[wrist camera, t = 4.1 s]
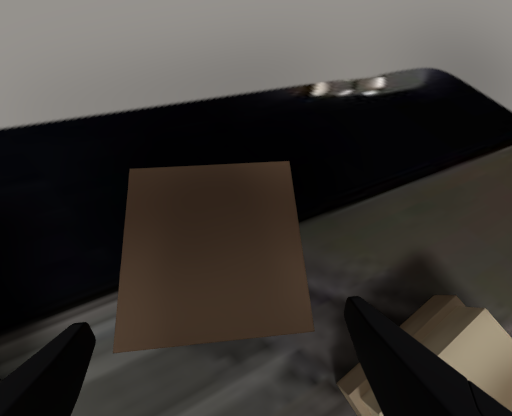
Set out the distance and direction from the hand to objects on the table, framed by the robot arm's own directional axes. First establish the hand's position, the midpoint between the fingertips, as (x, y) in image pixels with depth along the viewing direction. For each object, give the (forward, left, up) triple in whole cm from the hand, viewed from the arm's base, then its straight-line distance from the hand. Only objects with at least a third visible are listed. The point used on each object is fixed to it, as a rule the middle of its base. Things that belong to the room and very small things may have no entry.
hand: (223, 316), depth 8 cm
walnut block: (+2, -1, -9) cm, 10 cm away
